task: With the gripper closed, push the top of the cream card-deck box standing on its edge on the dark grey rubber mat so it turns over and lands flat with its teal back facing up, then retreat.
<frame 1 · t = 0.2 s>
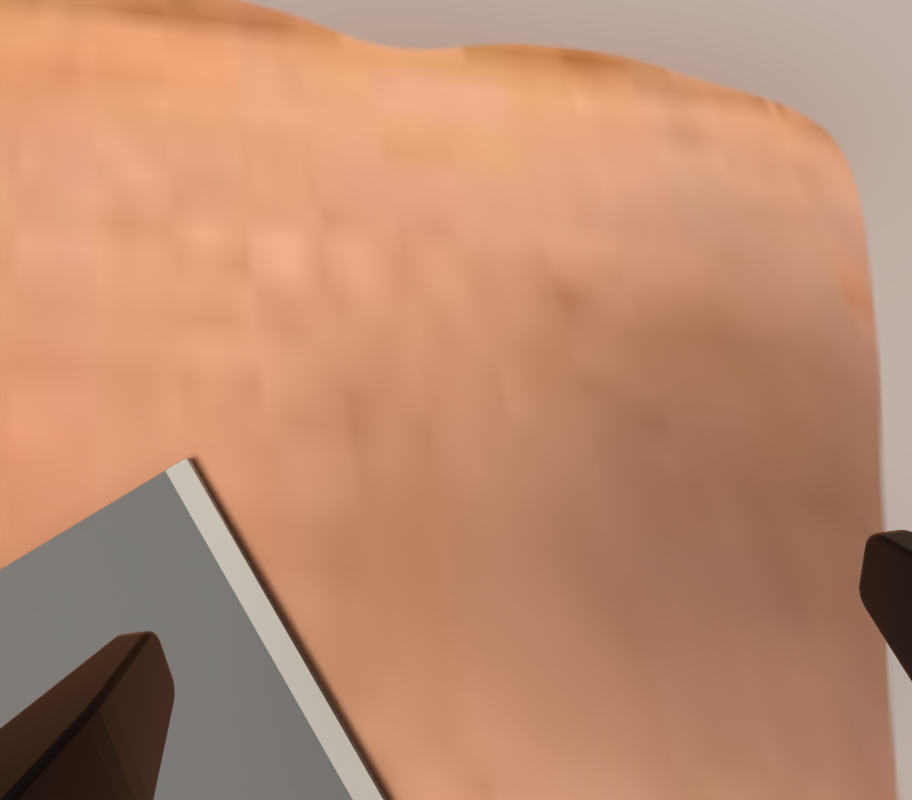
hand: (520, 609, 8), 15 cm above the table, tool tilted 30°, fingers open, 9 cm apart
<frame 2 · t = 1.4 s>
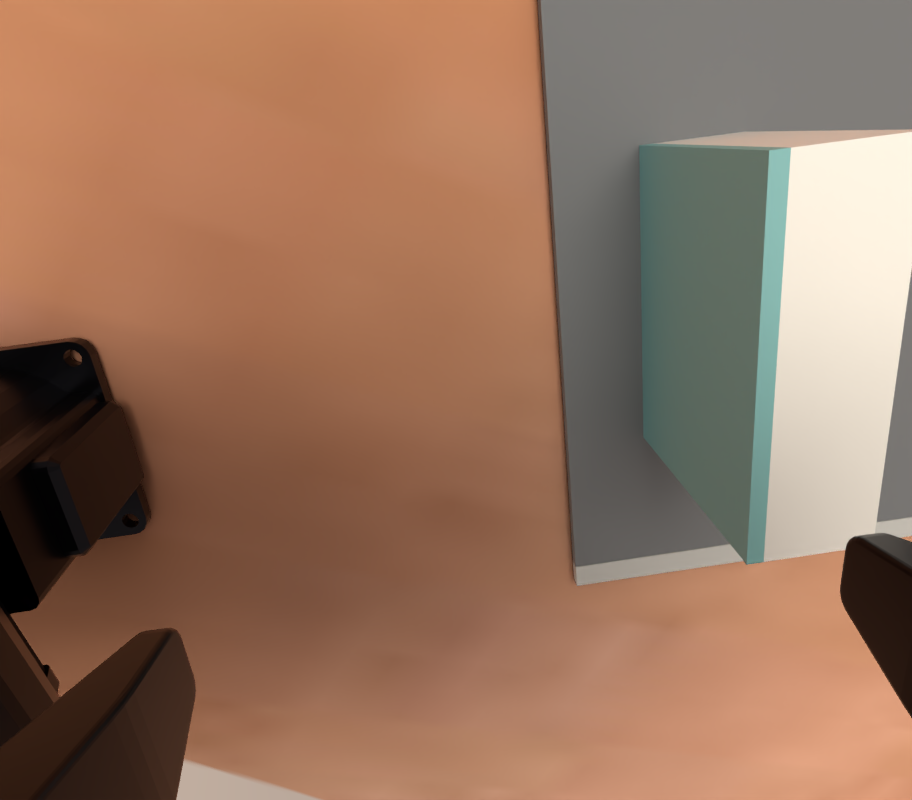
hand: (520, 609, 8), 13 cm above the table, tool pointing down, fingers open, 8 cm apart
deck: (690, 296, 20), resting on mat
mat: (842, 272, 21), on the table
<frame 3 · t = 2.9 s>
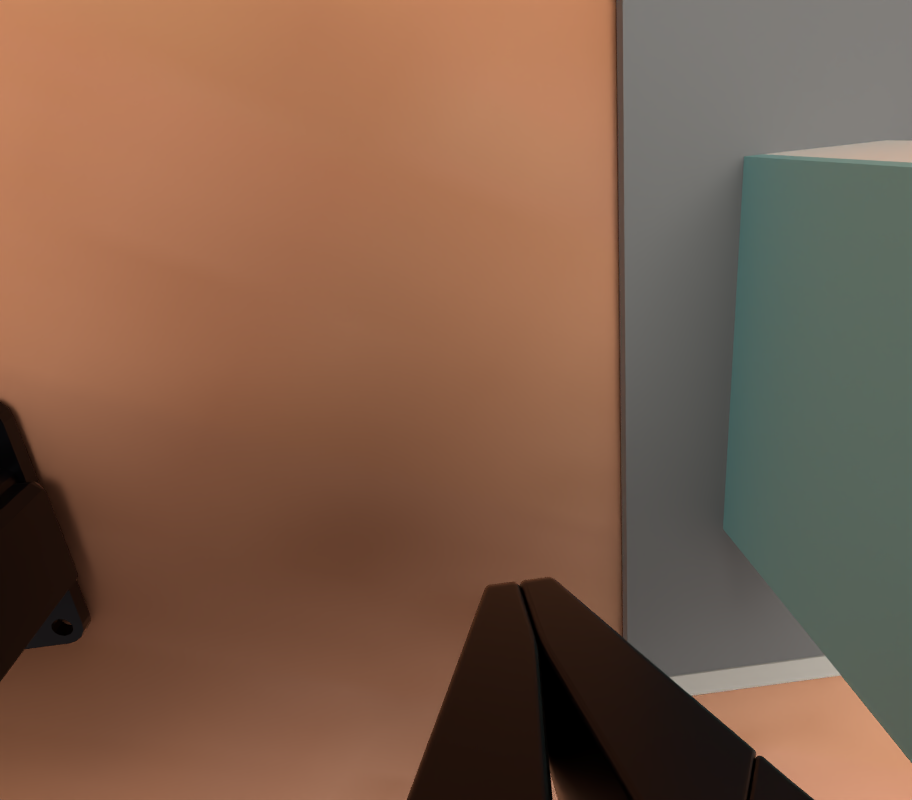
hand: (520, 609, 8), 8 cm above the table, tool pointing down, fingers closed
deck: (796, 355, 15), resting on mat
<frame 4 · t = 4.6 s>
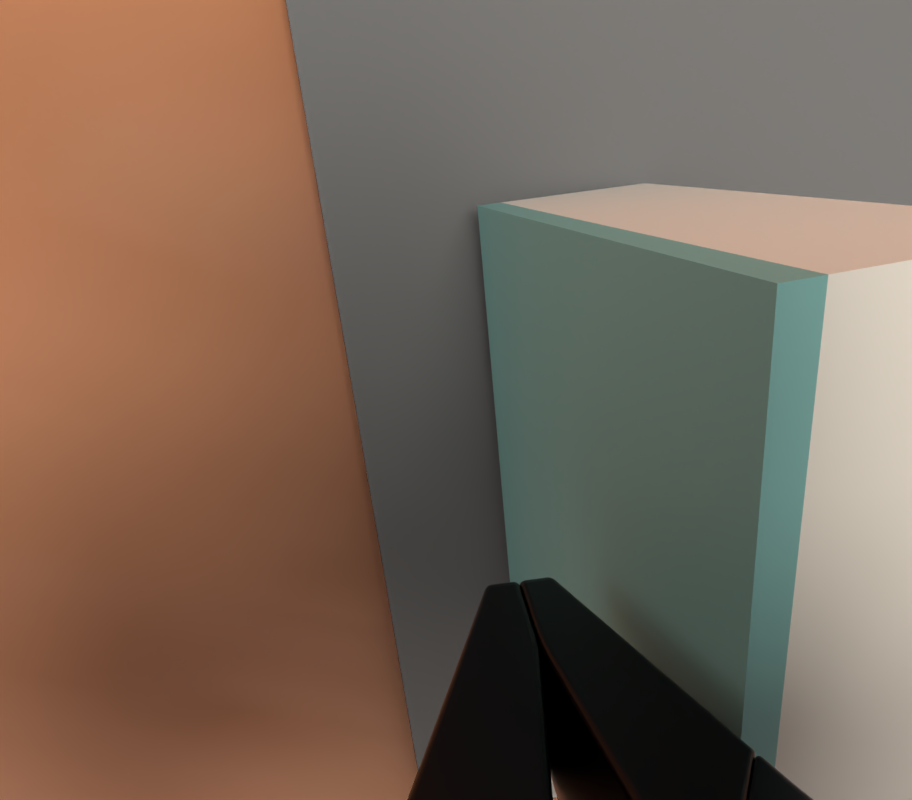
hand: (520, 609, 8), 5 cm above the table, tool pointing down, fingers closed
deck: (573, 437, 13), point 1 cm above the table, tilted 10°, touching mat
mat: (804, 392, 14), on the table
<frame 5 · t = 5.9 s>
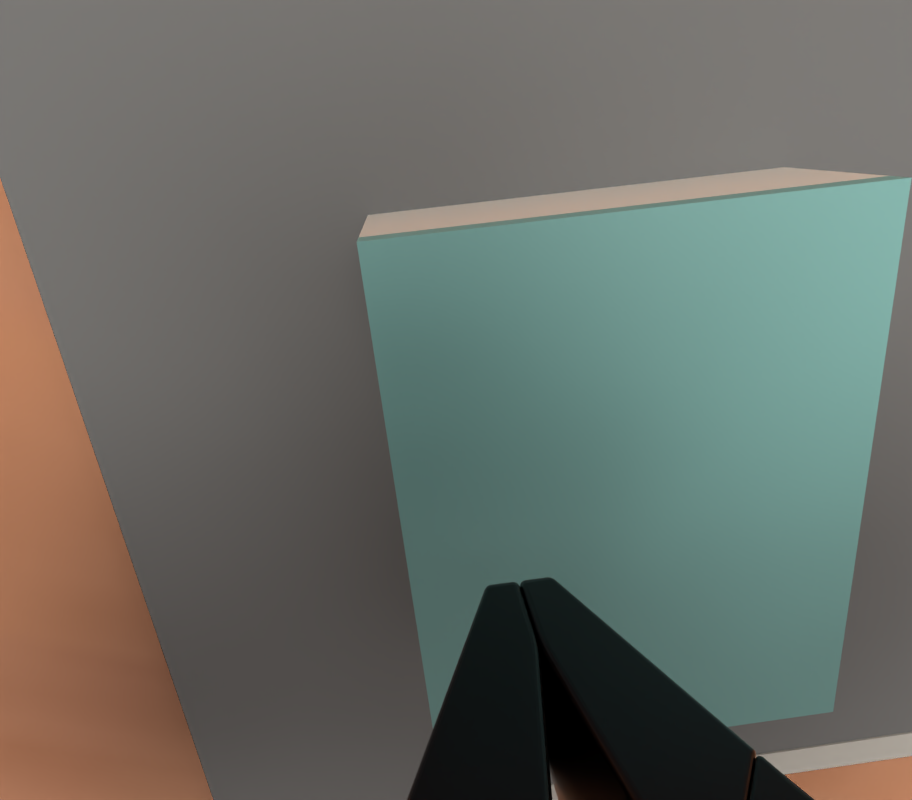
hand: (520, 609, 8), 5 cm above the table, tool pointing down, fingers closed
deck: (404, 498, 11), point 2 cm above the table, tilted 90°, touching mat
mat: (579, 427, 13), on the table
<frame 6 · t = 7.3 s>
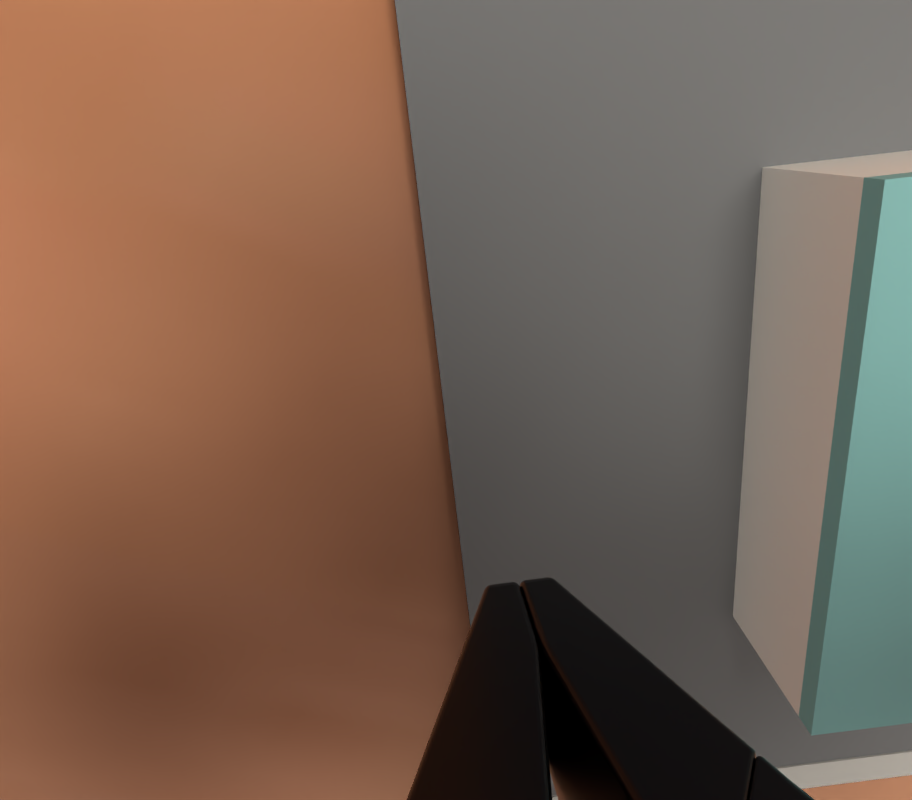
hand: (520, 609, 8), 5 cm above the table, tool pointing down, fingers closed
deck: (787, 459, 11), point 2 cm above the table, tilted 90°, touching mat
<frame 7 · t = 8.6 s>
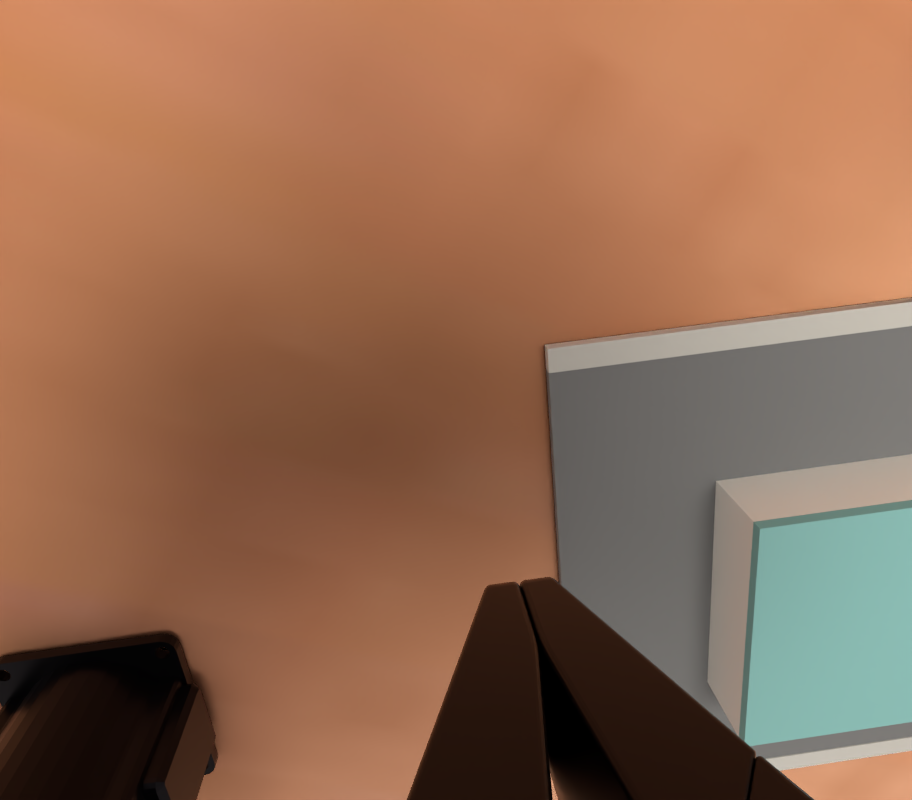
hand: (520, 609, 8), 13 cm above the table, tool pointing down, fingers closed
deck: (730, 615, 23), point 2 cm above the table, tilted 90°, touching mat
mat: (797, 568, 25), on the table
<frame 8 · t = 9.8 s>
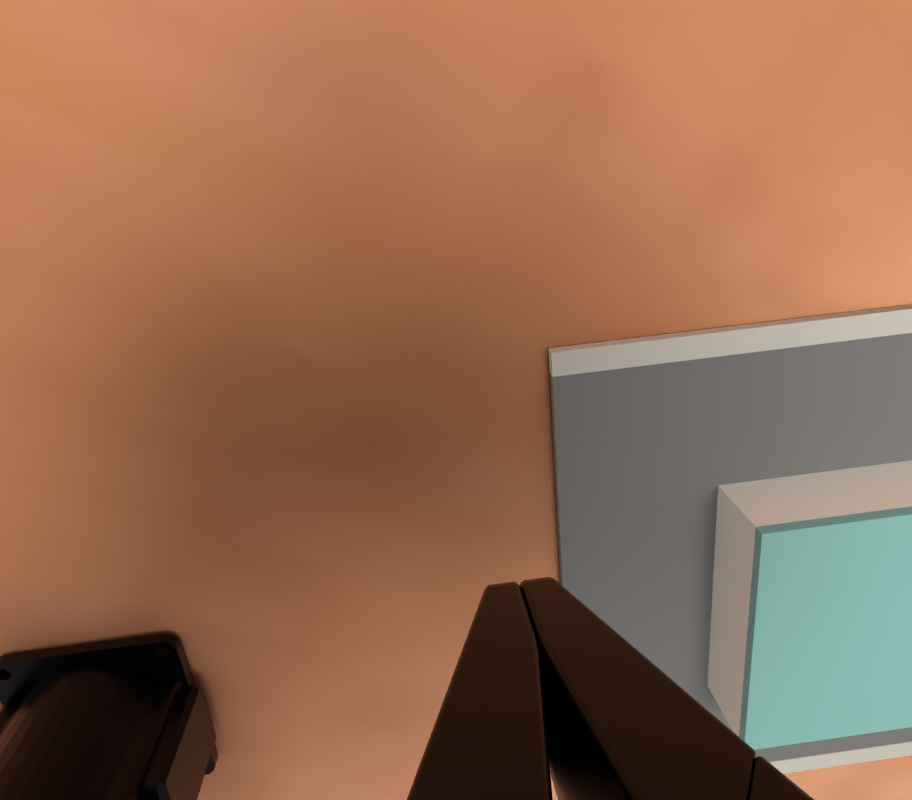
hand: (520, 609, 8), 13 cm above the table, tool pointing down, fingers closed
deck: (731, 620, 23), point 2 cm above the table, tilted 90°, touching mat
mat: (798, 573, 25), on the table
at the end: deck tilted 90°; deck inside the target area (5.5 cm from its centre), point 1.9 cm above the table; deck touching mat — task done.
